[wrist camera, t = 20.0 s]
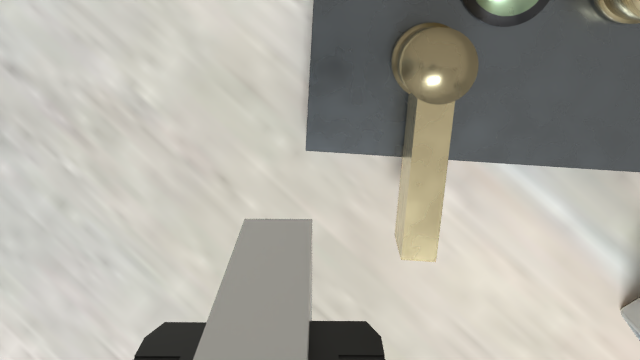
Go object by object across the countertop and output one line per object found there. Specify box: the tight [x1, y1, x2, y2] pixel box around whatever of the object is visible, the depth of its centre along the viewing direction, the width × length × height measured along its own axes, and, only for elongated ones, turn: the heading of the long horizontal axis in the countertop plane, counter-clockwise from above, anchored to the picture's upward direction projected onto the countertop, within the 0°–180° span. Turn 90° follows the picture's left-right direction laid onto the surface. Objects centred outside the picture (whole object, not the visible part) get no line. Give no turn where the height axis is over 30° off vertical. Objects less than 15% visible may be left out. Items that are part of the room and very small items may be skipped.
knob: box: [391, 23, 478, 262], centre depth 35 cm, size 13×4×4 cm, turn 177°
